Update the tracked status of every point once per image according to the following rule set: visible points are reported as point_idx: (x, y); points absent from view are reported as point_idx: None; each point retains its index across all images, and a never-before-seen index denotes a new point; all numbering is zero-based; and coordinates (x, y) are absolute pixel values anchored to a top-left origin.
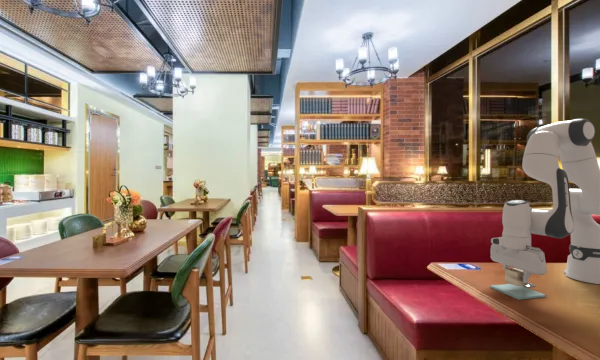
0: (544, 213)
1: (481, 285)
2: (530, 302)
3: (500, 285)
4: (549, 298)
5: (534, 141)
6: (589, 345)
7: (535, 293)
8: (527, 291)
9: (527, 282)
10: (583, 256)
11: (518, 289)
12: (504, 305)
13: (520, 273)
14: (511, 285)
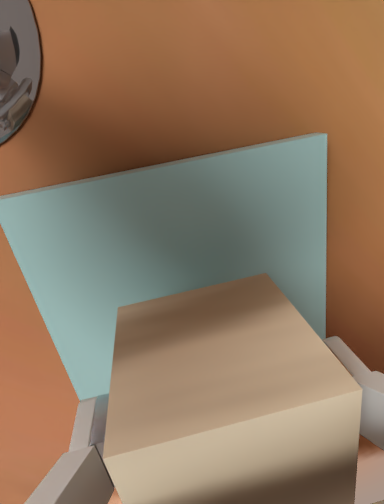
0: None
1: (56, 453)
2: (365, 321)
3: (86, 370)
4: (343, 122)
5: None
6: None
7: (283, 206)
8: (233, 243)
9: (335, 340)
10: None
11: (183, 287)
12: (361, 453)
13: (345, 477)
14: (73, 283)
